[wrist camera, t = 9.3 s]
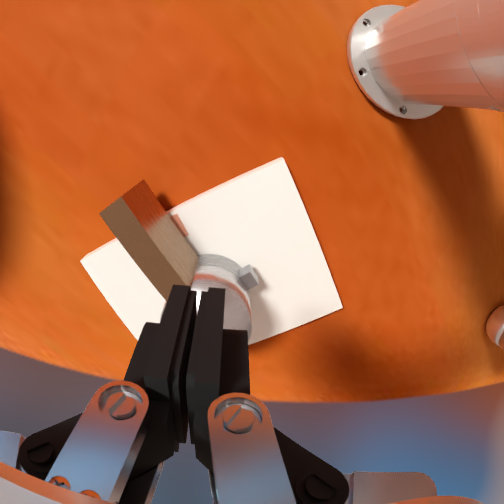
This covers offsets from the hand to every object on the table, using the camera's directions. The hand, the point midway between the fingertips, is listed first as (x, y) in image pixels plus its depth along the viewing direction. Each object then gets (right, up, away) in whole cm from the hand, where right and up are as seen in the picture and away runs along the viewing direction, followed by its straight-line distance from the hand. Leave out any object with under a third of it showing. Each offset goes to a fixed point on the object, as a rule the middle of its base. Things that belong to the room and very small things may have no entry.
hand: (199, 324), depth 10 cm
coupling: (-5, +2, +21) cm, 22 cm away
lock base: (-3, -1, +24) cm, 24 cm away
